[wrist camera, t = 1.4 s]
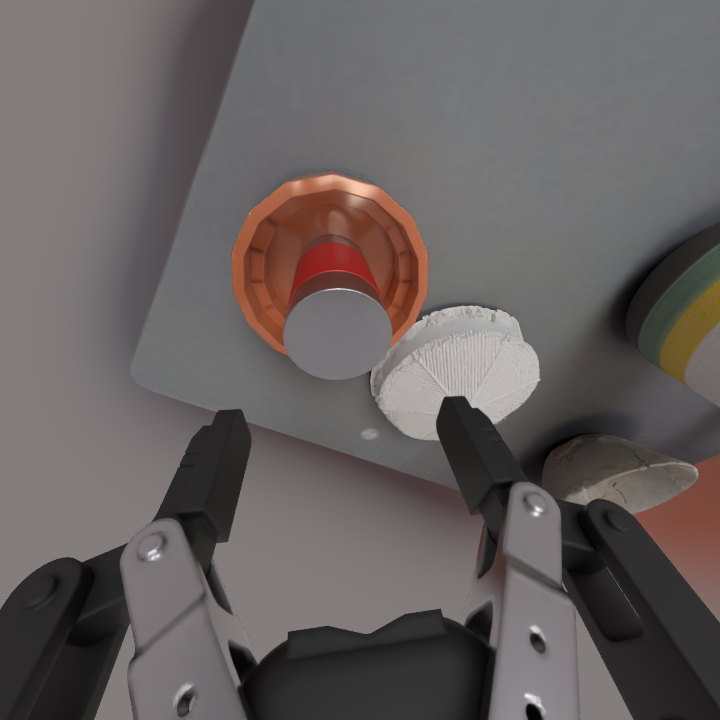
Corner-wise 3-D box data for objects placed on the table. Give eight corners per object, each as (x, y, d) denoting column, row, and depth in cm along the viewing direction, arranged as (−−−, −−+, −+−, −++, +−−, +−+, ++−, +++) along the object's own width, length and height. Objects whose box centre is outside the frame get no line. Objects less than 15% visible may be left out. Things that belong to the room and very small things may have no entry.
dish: (221, 290, 24) (202, 317, 20) (300, 118, 18) (293, 108, 14) (351, 356, 30) (355, 386, 27) (443, 248, 24) (467, 267, 20)
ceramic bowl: (561, 483, 60) (597, 533, 52) (488, 470, 52) (517, 526, 44) (662, 424, 48) (727, 477, 40) (588, 395, 40) (651, 454, 32)
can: (284, 281, 24) (262, 354, 15) (321, 217, 21) (320, 262, 12) (342, 315, 26) (351, 393, 18) (381, 262, 24) (415, 325, 15)
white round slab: (547, 365, 35) (587, 403, 30) (427, 438, 42) (442, 479, 37) (474, 260, 25) (515, 289, 20) (334, 380, 32) (336, 424, 27)
